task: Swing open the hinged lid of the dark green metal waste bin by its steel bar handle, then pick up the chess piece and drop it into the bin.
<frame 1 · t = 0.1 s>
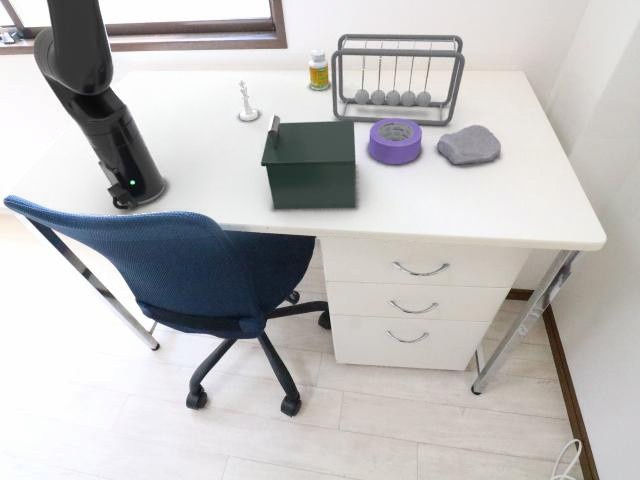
waste bin: (315, 186, 81), on the table
supplement bottle: (319, 86, 112), on the table
stone block: (468, 154, 86), on the table
tape roll: (393, 150, 88), on the table
chess piece: (249, 116, 103), on the table
bin lid: (309, 132, 71), point 13 cm above the table, hinge at 0.0°
newton's cradle: (391, 113, 99), on the table
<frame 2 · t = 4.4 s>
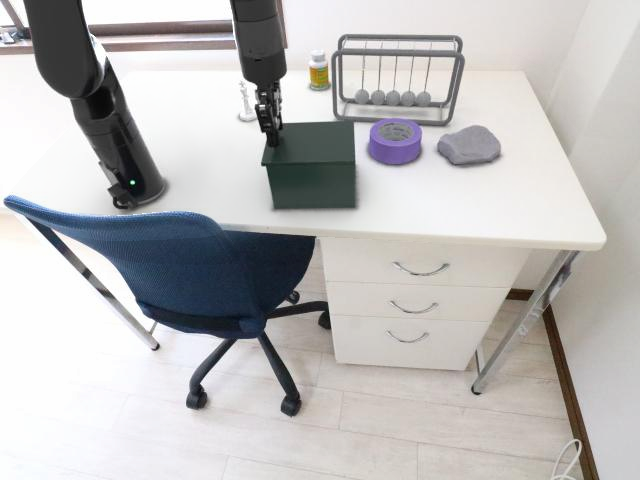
hand: (276, 137, 72), 13 cm above the table, tool pointing down, fingers closed on bin lid, 5 cm apart
bin lid: (309, 133, 71), point 13 cm above the table, hinge at 0.0°, touching gripper
everything else where it was.
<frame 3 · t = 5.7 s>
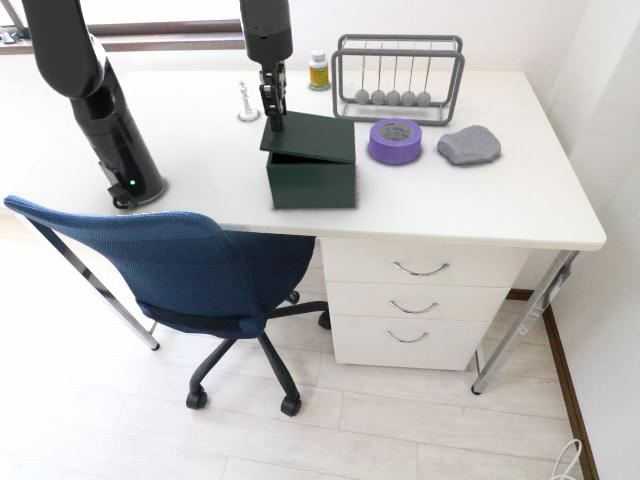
hand: (279, 122, 70), 16 cm above the table, tool pointing down, fingers closed on bin lid, 5 cm apart
bin lid: (311, 124, 70), point 15 cm above the table, hinge at 11.7°, touching gripper
everything else where it was.
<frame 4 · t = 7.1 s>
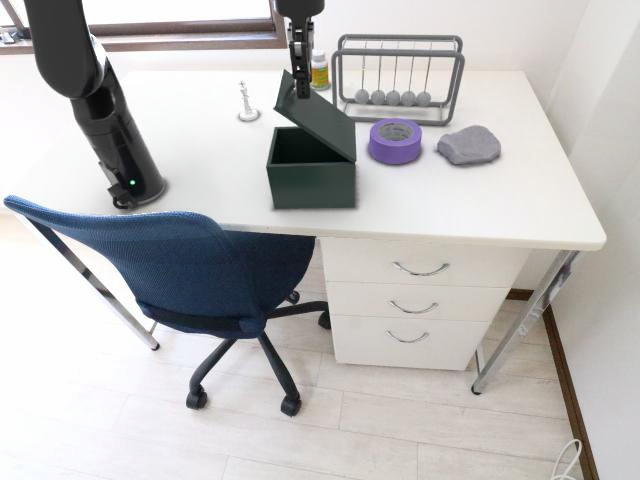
hand: (305, 89, 65), 22 cm above the table, tool pointing down, fingers closed on bin lid, 5 cm apart
bin lid: (325, 107, 67), point 18 cm above the table, hinge at 40.4°, touching gripper
everything else where it was.
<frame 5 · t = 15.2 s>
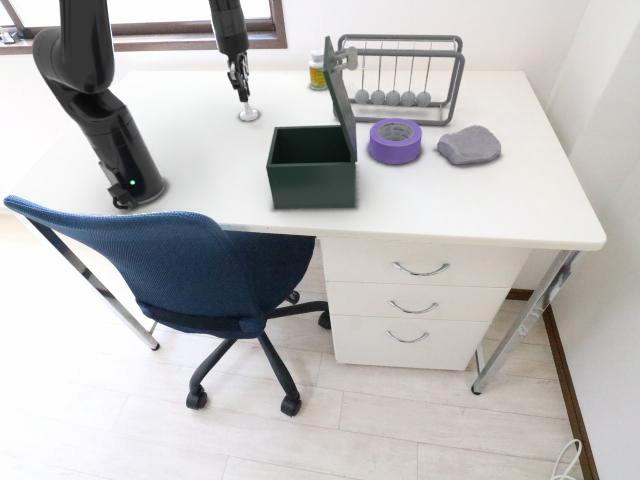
hand: (245, 98, 99), 5 cm above the table, tool pointing down, fingers closed on chess piece
chess piece: (249, 116, 103), on the table, touching gripper
bin lid: (353, 97, 65), point 20 cm above the table, hinge at 74.2°
everything else where it was.
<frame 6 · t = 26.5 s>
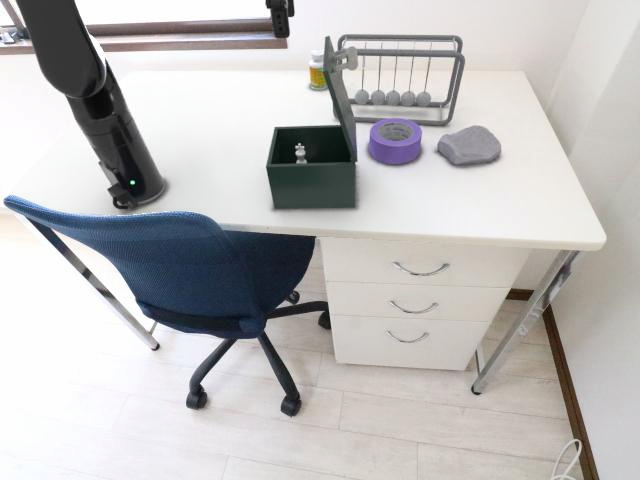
hand: (285, 26, 57), 32 cm above the table, tool pointing down, fingers open, 8 cm apart
chess piece: (304, 184, 81), point 1 cm above the table, touching waste bin
everything else where it was.
at the end: bin lid at +74° (first picture: +0°); chess piece inside the target area in the waste bin (2.6 cm from its centre), point 0.6 cm above the waste bin's base; the gripper is holding nothing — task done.
